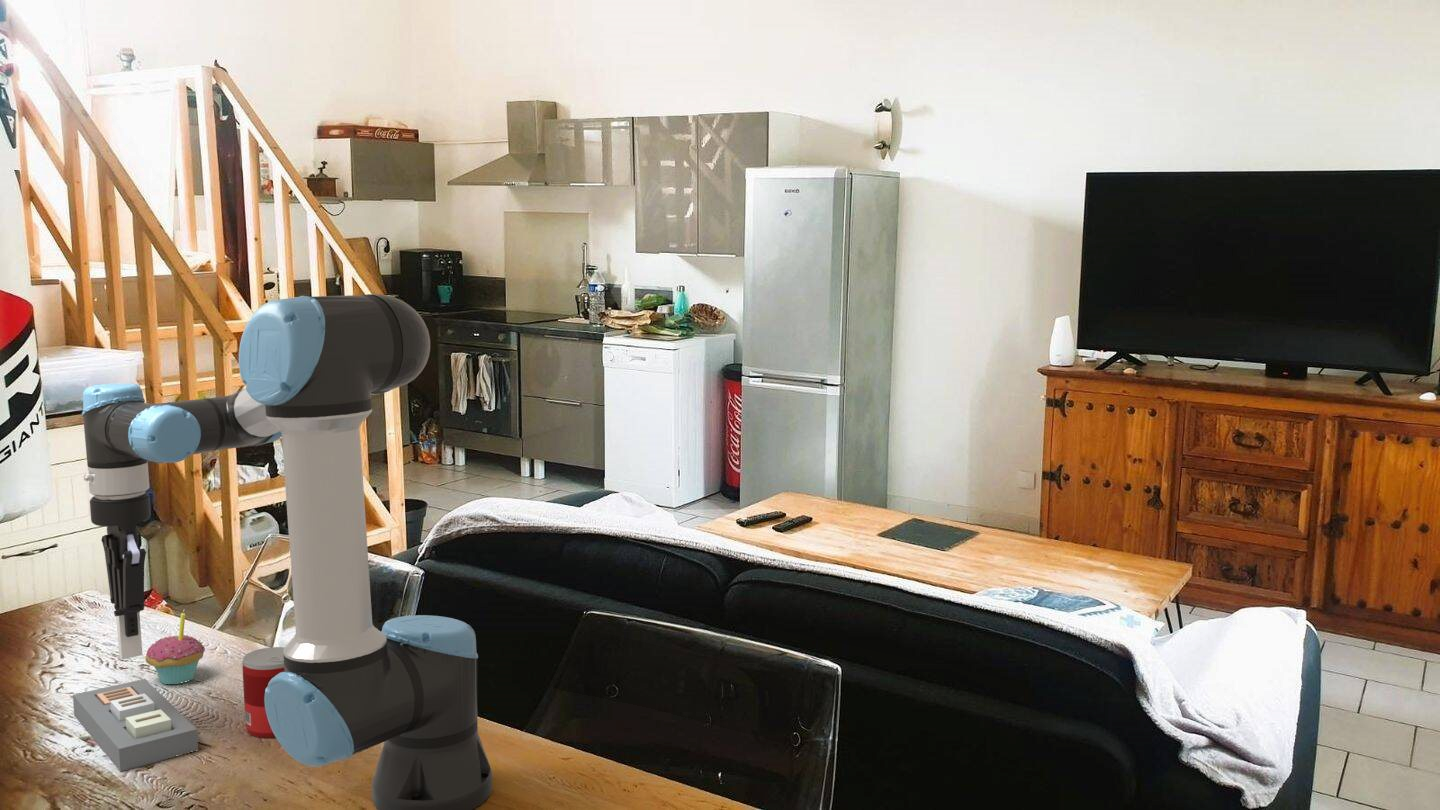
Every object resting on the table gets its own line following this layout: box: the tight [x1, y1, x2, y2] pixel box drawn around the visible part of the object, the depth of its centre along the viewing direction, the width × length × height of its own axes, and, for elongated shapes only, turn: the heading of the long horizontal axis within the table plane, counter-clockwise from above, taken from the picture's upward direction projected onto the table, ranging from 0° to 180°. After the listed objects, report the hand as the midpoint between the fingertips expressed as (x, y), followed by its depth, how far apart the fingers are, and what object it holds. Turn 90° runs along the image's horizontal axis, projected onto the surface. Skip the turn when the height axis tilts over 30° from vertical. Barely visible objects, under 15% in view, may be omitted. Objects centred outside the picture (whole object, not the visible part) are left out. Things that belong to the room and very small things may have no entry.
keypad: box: [72, 678, 199, 773], centre depth 169 cm, size 24×10×3 cm, turn 42°
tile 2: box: [110, 693, 155, 722], centre depth 169 cm, size 5×5×2 cm
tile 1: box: [126, 709, 172, 739], centre depth 163 cm, size 5×5×2 cm
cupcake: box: [145, 608, 206, 685], centre depth 188 cm, size 9×8×12 cm
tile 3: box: [97, 687, 138, 705], centre depth 174 cm, size 5×5×2 cm
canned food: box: [242, 646, 285, 739], centre depth 171 cm, size 8×8×11 cm
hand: (130, 655), depth 168 cm, fingers closed
